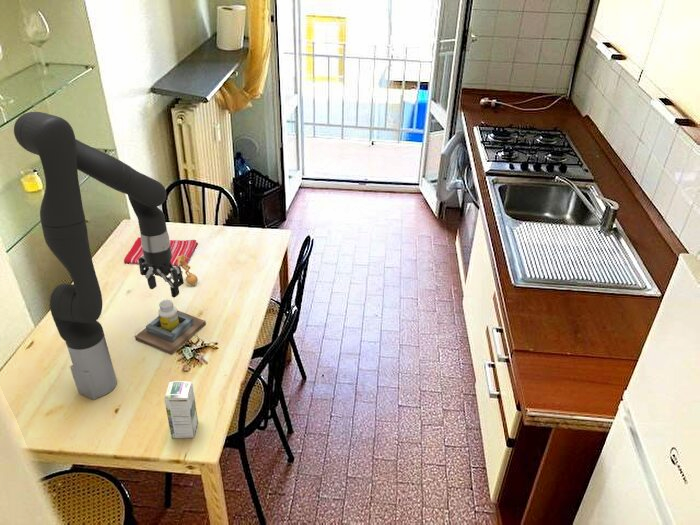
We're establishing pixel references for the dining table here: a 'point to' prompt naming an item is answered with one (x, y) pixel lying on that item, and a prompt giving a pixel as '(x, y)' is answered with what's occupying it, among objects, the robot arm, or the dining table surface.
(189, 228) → the dining table surface
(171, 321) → the supplement bottle
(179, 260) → the figurine
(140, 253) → the dish towel
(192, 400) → the syrup box
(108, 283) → the dining table surface
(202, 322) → the cradle board
